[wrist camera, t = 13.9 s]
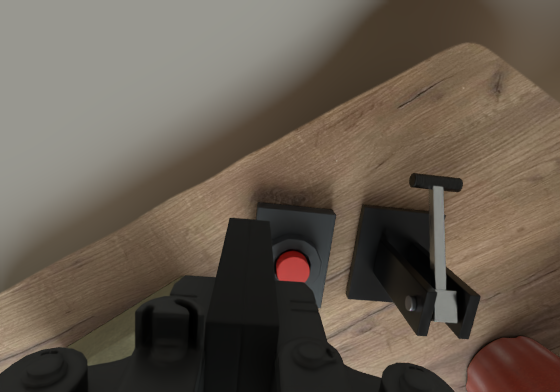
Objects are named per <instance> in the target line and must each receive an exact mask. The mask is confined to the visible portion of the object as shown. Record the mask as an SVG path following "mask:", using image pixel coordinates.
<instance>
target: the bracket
mask: <svg viewBox="0 0 560 392" xmlns="http://www.w3.org/2000/svg"><path fill="white" fill-rule="evenodd" d="M445 216H446V215H444V221H445ZM446 290H447V291H456V293H457V320H458V323H447V322H445V323H446V324H447V325H448V327H449V328H450V329H451V330H452V331H453V332H454V334H455V335H456V336H457V337H458V338H459V339H469V336H470V333H471V329H472V325H473V322H474V318H475V315H476V311H477V308H478V304H479V301H480V295H479V294H477V293H476V292H475V291H474V290H473V289H472V288H470V287H469V286H468V285H467V284H466V283H465V282H463V281H462V280H461V279H460V278H459V277H458V276H456V275H455V274H454V273H453V272H452V271H451V270H449V269H448V268H447V267H446ZM346 296H347V298H348V299H356V300H369V301H382V302H394V303H395V305H396V306H397V308H398V309H399V311H400V312H401V314H402V315H403V316H404V318H405V319H406V321H407V322H408V324H409V325H410V326H411V328H412V329H413V331H414V332H415V334H416V335H417V336H427V334H428V330H429V326H430V322H431V318H432V314H433V310H434V306H435V302H436V298H437V292H436V291H435V290H434V289H433V287H432V286H431V285H430V235H429V211H420V210H411V209H401V208H391V207H382V206H372V205H362V209H361V214H360V220H359V225H358V231H357V236H356V241H355V247H354V252H353V258H352V263H351V269H350V274H349V280H348V285H347V291H346Z"/></svg>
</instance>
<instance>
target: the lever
mask: <svg viewBox="0 0 560 392" xmlns="http://www.w3.org/2000/svg"><path fill="white" fill-rule="evenodd" d="M409 184H410V186H411V187H414V188H423V189H429V235H430V285H431V286H432V287H433V289H434V290H435V291H436V292H437V298H436V302H435V306H434V310H433V314H432V318H431V321H434V322H447V323H458V320H457V293H456V291H447V290H446V260H445V227H444V194H443V191H451V192H460V191H461V189H462V186H463V182H462V180H461V179H460V178H453V177H444V176H435V175H426V174H417V173H413V174H411V176H410V179H409Z"/></svg>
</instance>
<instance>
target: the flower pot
mask: <svg viewBox="0 0 560 392" xmlns="http://www.w3.org/2000/svg"><path fill="white" fill-rule="evenodd" d="M467 374H468V380H467V383H466V388H467V391H468V392H560V357H558V356H557V355H555V354H554V353H552V352H551V351H549V350H548V349H547V348H545V347H544V346H542V345H541V344H540V343H538V342H536V341H535V340H533V339H531V338H527V337H523V336H518V337H517V338H500V339H498V340H495V341H493V342H491V343H489V344H488V345H486V346H485V347H484V348H482V349H481V350H480V351H479V352H478V353H477V354H476V355H475V357H474V358H473V359H472V361H471V363H470V365H469V367H468V369H467Z"/></svg>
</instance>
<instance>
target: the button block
mask: <svg viewBox="0 0 560 392" xmlns="http://www.w3.org/2000/svg"><path fill="white" fill-rule="evenodd" d="M335 219H336V214H335V213H334V212H333V210H331V209H321V208H311V207H301V206H291V205H281V204H271V203H262V202H258V204H257V212H256V220H263V221H270V229H271V240H272V251H273V261H274V272H275V280H279V279H278V277H277V271H276V262H277V260H278V258H279V257H280V256H281V255H282V254H283V253H285V252H288V251H297V252H300V253H302V254H303V255H304V256H305V257H306V259H307V262H308V265H309V268H310V274H309V277H308V279H307V280H306V282H305V284H306V285H307V286H308V287H309V288H310V289H311V290H312V291H313V292H314V296H315V300H316V304H317V307H318V308H321V303H322V297H323V291H324V285H325V279H326V273H327V267H328V261H329V255H330V249H331V243H332V237H333V231H334V225H335Z"/></svg>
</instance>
